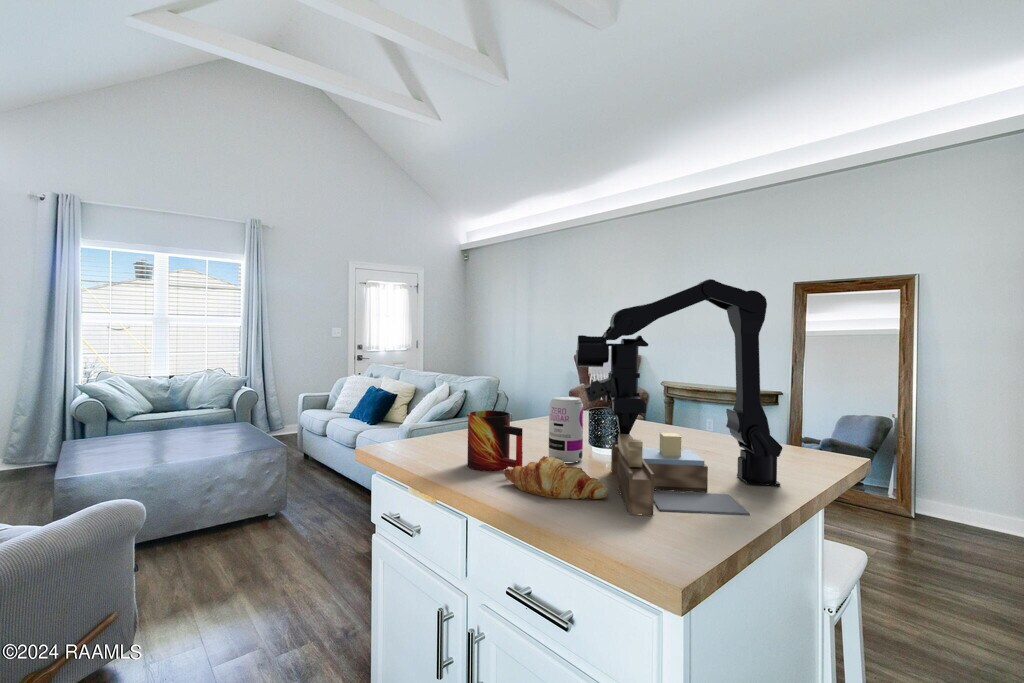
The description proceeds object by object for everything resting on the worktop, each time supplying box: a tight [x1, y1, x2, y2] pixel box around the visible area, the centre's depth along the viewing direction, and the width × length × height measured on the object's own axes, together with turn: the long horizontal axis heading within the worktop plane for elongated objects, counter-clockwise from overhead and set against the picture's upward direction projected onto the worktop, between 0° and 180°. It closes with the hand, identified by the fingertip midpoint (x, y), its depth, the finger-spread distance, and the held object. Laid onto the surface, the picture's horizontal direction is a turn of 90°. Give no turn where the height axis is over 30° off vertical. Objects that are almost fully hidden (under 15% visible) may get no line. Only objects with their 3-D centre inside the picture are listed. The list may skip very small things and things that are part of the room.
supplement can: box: [548, 395, 584, 462], centre depth 116 cm, size 8×8×15 cm
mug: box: [467, 410, 524, 473], centre depth 110 cm, size 10×14×12 cm
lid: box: [620, 432, 705, 466], centre depth 99 cm, size 15×9×5 cm, turn 85°
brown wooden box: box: [610, 439, 709, 516], centre depth 93 cm, size 17×26×7 cm, turn 175°
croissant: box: [504, 455, 608, 500], centre depth 92 cm, size 21×10×8 cm, turn 64°
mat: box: [654, 490, 751, 516], centre depth 87 cm, size 15×10×1 cm, turn 85°
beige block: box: [617, 433, 644, 467], centre depth 94 cm, size 2×15×5 cm, turn 175°
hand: (623, 440), depth 103 cm, fingers closed
